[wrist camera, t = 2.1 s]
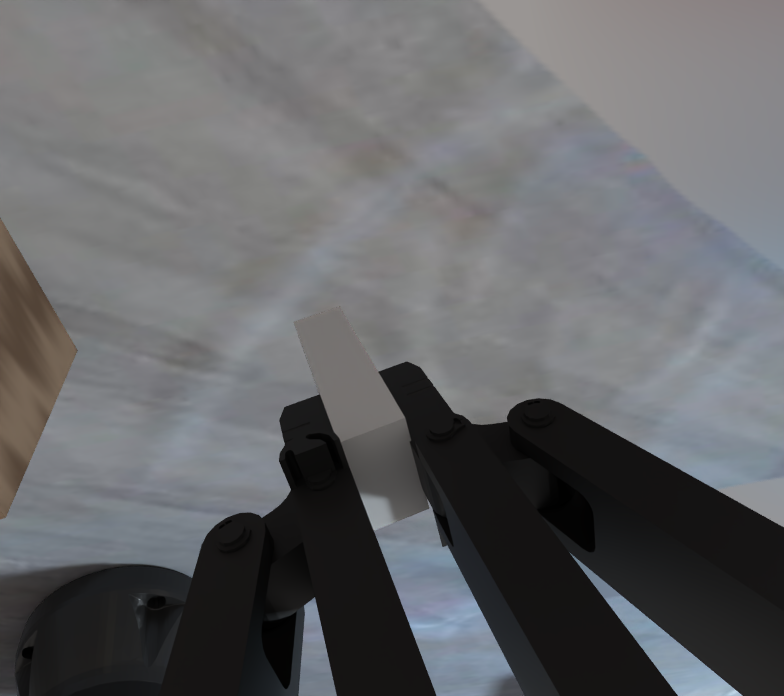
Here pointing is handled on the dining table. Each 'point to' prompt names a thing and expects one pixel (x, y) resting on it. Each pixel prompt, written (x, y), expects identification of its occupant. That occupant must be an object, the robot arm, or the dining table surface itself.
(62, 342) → the birch plank
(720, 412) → the dining table surface
